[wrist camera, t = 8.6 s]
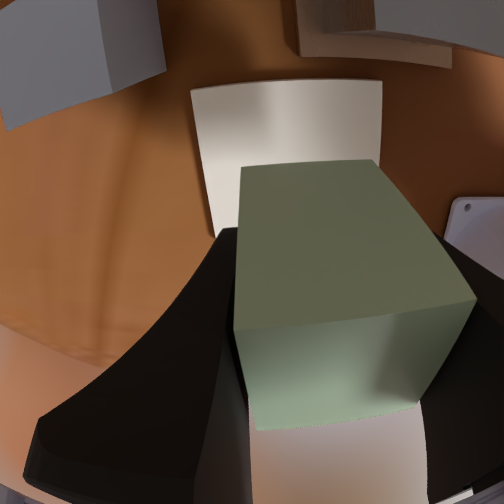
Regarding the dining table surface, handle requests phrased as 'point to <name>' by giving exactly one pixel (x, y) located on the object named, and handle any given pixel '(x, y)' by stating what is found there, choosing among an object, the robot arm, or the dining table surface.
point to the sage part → (338, 295)
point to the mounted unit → (399, 29)
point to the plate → (281, 129)
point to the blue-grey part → (73, 53)
